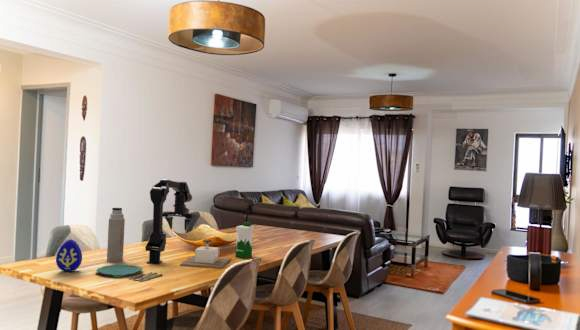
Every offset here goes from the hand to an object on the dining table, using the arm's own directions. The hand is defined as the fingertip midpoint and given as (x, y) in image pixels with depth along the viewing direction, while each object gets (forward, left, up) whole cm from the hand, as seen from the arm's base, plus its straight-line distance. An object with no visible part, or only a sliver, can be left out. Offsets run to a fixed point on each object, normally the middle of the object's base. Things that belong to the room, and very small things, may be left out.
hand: (178, 229), depth 273 cm
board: (-17, -22, -14) cm, 32 cm away
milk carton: (+5, -38, -14) cm, 41 cm away
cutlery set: (-53, +6, -15) cm, 56 cm away
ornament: (-55, +34, -14) cm, 66 cm away
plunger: (-17, -22, -9) cm, 30 cm away
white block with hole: (-17, -22, -14) cm, 32 cm away
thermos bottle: (-27, +25, -14) cm, 39 cm away
